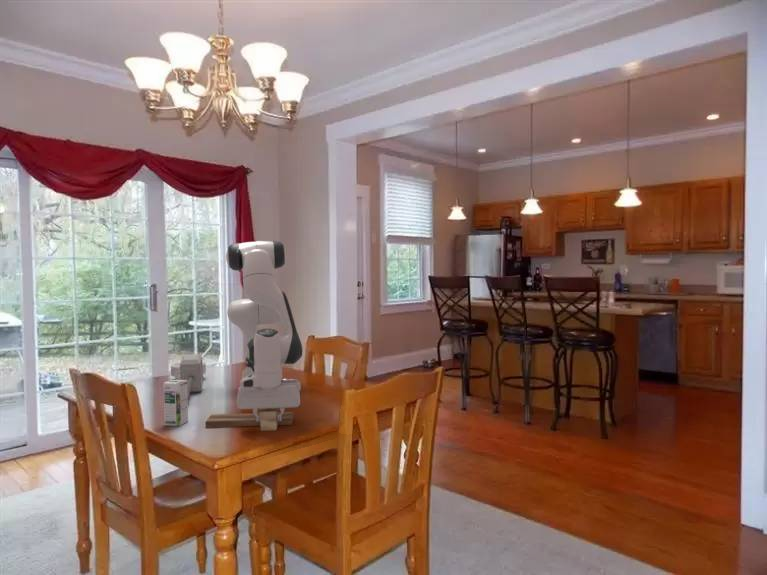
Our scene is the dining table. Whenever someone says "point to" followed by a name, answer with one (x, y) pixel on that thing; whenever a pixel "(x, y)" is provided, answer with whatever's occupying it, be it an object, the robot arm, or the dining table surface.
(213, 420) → the plank
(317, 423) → the dining table surface
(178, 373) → the gray cross block
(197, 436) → the dining table surface
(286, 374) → the dining table surface
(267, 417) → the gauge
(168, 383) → the syrup box
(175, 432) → the dining table surface
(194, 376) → the hammer
